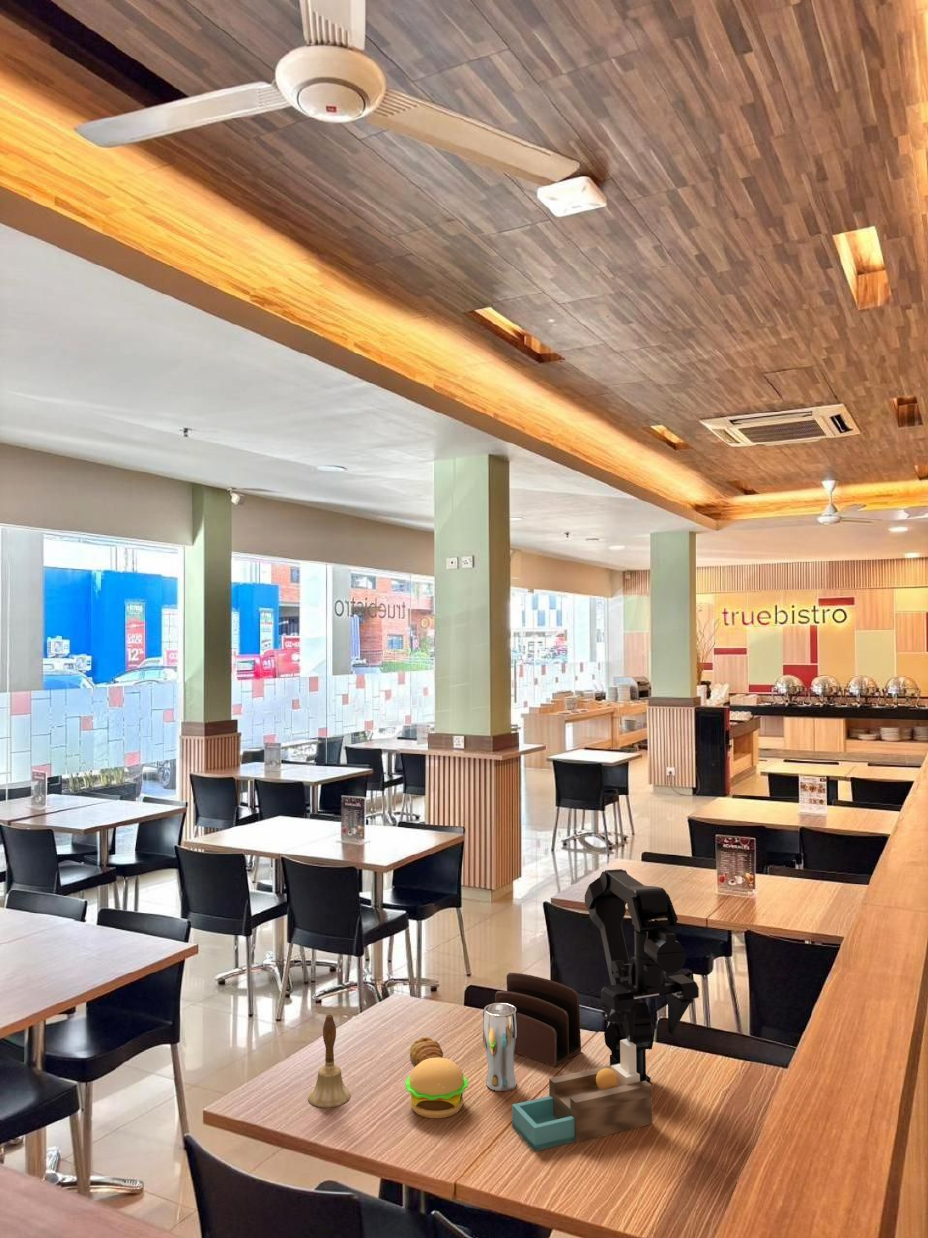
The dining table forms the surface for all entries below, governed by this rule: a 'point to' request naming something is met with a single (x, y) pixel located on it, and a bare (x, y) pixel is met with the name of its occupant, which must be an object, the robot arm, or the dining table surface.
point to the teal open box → (542, 1124)
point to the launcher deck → (600, 1104)
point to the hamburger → (436, 1088)
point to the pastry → (425, 1050)
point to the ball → (606, 1079)
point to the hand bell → (329, 1074)
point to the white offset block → (626, 1064)
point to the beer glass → (500, 1045)
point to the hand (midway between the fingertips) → (650, 1037)
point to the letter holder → (543, 1018)
